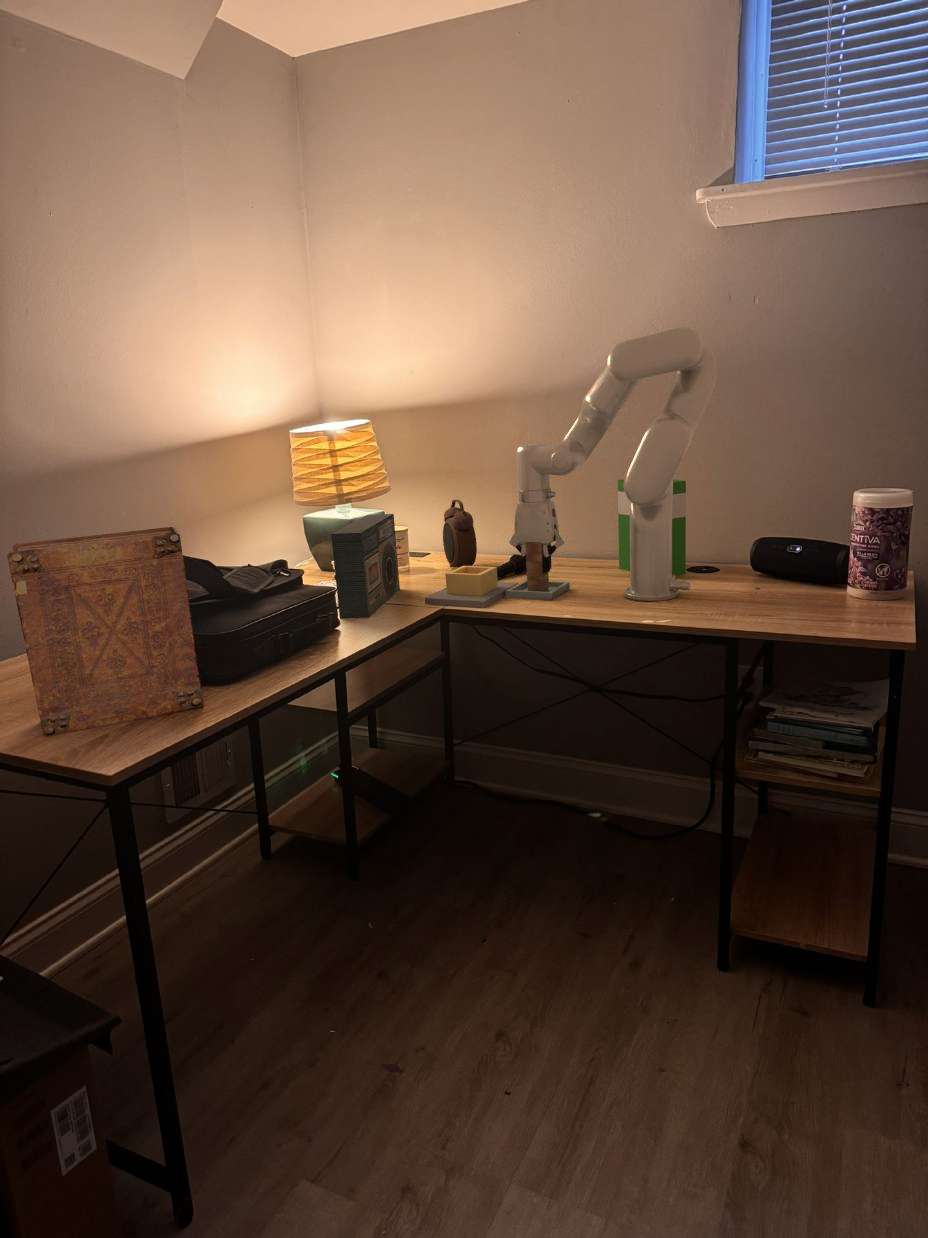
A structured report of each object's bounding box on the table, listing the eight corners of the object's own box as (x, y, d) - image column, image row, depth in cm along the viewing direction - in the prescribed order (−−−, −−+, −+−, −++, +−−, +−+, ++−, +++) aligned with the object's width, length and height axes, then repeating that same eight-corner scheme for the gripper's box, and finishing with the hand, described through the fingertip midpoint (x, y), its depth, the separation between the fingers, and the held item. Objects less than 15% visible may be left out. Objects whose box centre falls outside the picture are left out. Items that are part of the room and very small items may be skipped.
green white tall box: (619, 568, 234) (617, 479, 228) (640, 564, 237) (639, 476, 231) (663, 578, 219) (663, 483, 213) (685, 574, 222) (685, 480, 216)
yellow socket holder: (518, 588, 218) (517, 563, 216) (484, 607, 201) (482, 580, 199) (462, 585, 225) (461, 561, 224) (424, 603, 208) (422, 577, 207)
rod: (549, 588, 212) (546, 524, 208) (542, 592, 209) (540, 526, 205) (534, 587, 214) (531, 524, 210) (527, 591, 210) (524, 526, 206)
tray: (569, 589, 214) (569, 582, 213) (552, 600, 204) (551, 593, 203) (525, 586, 219) (525, 579, 219) (505, 597, 209) (505, 590, 209)
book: (41, 737, 137) (4, 552, 130) (45, 719, 146) (10, 544, 138) (205, 707, 146) (179, 532, 139) (199, 691, 155) (175, 526, 147)
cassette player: (368, 618, 199) (360, 532, 194) (339, 619, 200) (331, 533, 195) (399, 589, 226) (393, 513, 221) (374, 590, 228) (367, 514, 222)
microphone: (478, 597, 226) (531, 574, 237) (480, 578, 223) (533, 555, 234) (464, 588, 229) (516, 566, 241) (465, 570, 226) (518, 548, 238)
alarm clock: (441, 567, 251) (436, 498, 246) (464, 564, 253) (460, 496, 248) (455, 576, 238) (450, 503, 232) (480, 573, 240) (476, 501, 234)
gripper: (573, 494, 205) (575, 569, 210) (508, 494, 212) (512, 567, 217) (561, 498, 198) (564, 576, 203) (496, 498, 206) (500, 573, 211)
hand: (537, 570), depth 210 cm, fingers closed on rod, 4 cm apart
